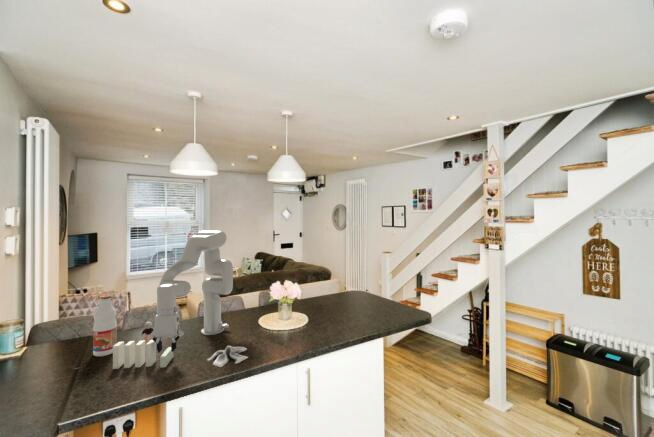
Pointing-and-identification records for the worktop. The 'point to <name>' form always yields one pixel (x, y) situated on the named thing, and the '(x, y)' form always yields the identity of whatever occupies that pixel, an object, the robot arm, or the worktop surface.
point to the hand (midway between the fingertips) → (166, 350)
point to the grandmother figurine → (147, 331)
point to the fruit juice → (104, 327)
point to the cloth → (228, 355)
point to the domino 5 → (166, 357)
